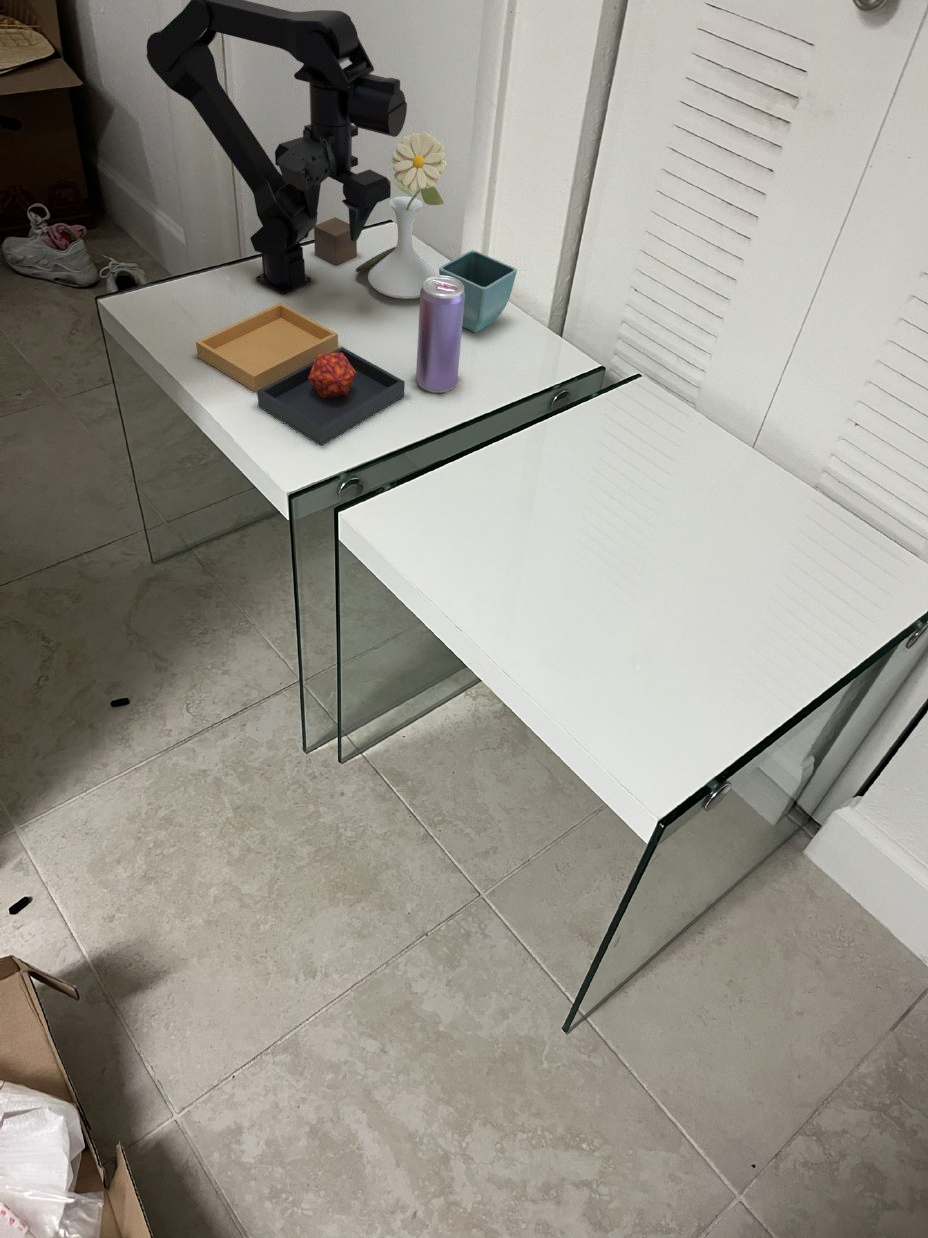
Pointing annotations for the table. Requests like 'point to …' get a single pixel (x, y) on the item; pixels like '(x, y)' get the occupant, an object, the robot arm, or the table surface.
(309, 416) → the stone tray
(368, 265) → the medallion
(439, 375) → the beverage can
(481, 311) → the flower pot
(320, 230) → the walnut block
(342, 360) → the decorative stone
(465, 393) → the table surface
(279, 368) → the wood tray
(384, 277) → the flower in vase
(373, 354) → the table surface
